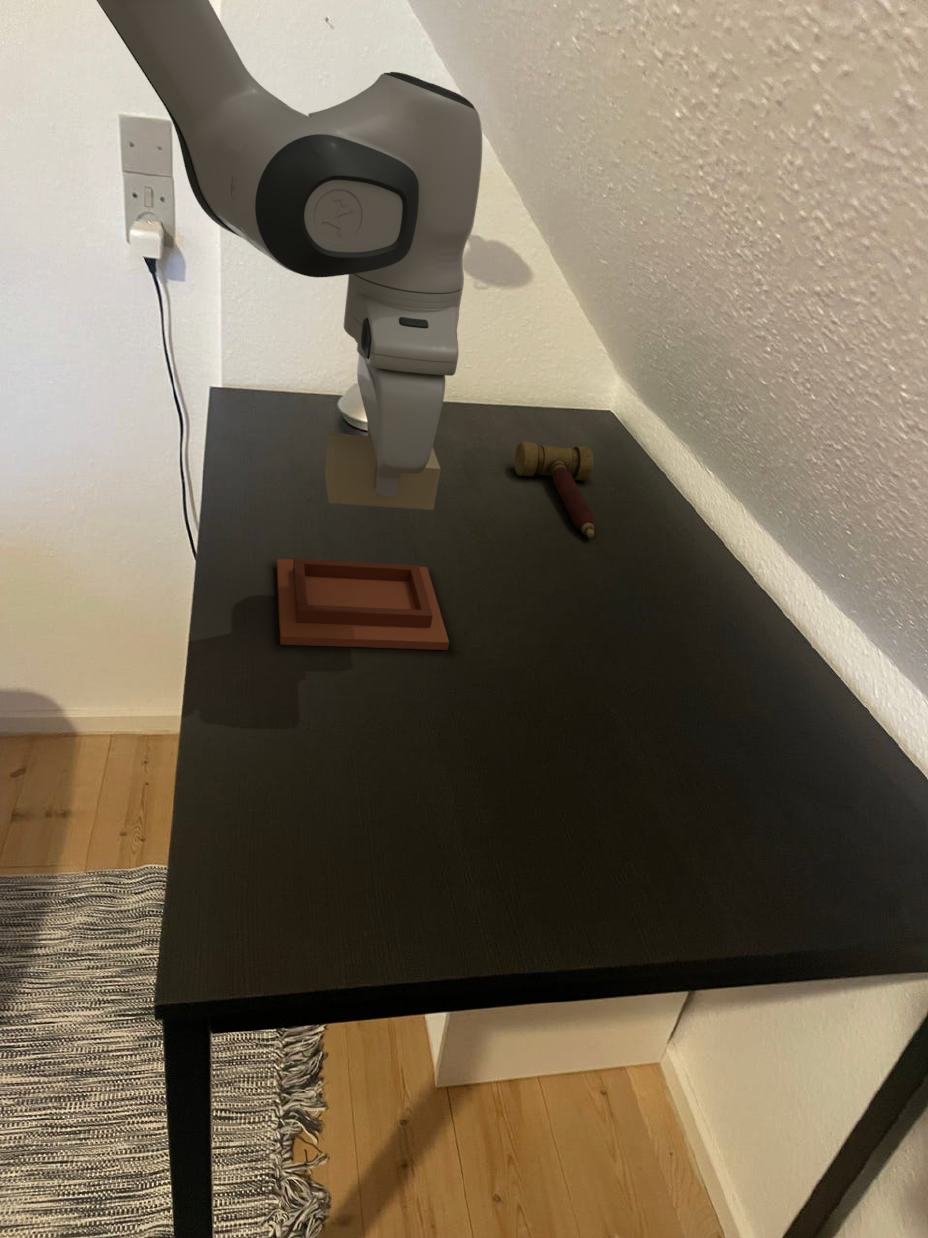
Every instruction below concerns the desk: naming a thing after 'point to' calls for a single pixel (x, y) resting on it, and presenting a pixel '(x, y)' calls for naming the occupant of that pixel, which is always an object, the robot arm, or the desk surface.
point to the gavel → (561, 476)
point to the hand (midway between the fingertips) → (380, 474)
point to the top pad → (355, 476)
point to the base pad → (358, 605)
